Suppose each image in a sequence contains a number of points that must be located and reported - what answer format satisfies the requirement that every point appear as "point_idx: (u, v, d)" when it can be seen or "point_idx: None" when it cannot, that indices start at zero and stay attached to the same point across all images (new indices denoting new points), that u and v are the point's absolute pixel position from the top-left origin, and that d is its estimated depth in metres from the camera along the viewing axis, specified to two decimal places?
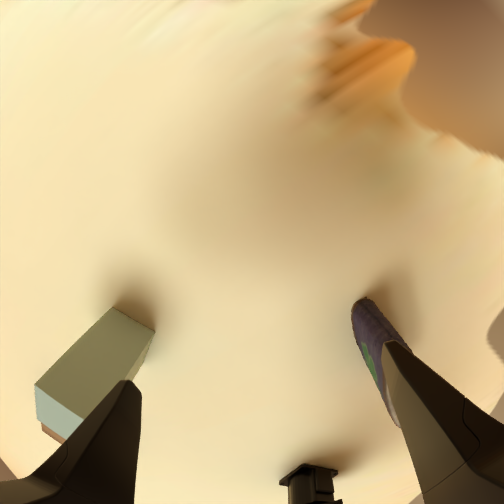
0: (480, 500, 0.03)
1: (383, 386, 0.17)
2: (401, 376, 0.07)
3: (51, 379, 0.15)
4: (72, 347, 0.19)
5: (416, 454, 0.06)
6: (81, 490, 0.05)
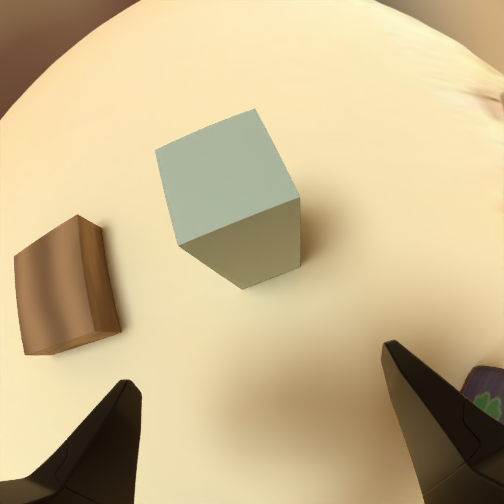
0: (480, 500, 0.03)
1: None
2: (401, 376, 0.07)
3: None
4: None
5: (416, 454, 0.06)
6: (81, 490, 0.05)
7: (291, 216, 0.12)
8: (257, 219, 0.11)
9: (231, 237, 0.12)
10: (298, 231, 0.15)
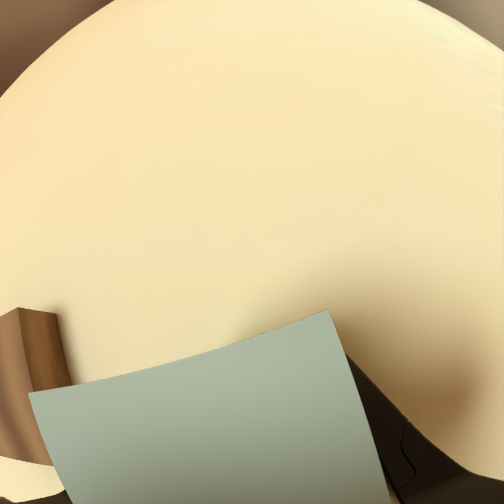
0: None
1: None
2: None
3: None
4: None
5: None
6: None
7: None
8: None
9: None
10: None
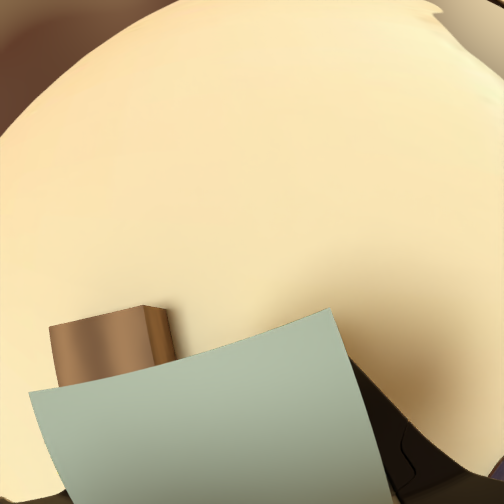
0: None
1: None
2: None
3: None
4: None
5: None
6: None
7: None
8: None
9: None
10: None
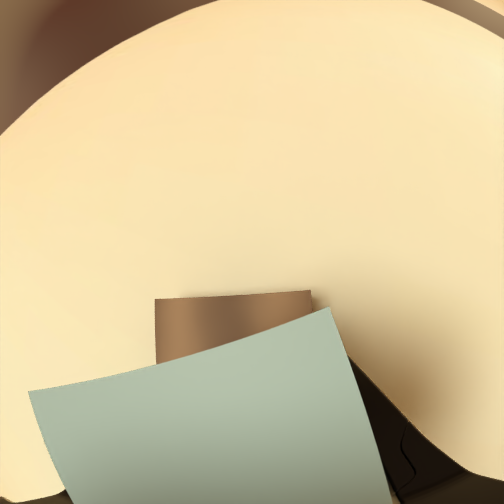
0: None
1: None
2: None
3: None
4: None
5: None
6: None
7: None
8: None
9: None
10: None
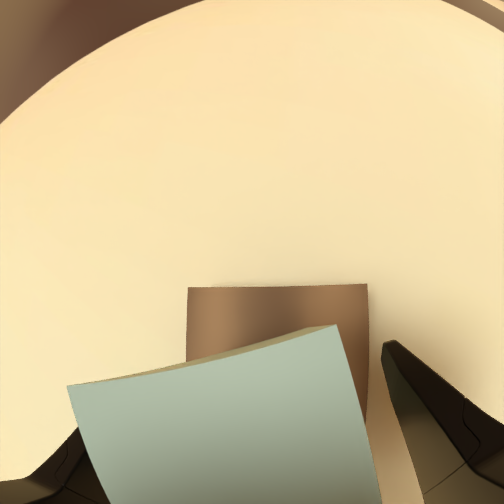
0: (480, 500, 0.03)
1: None
2: (401, 376, 0.07)
3: None
4: None
5: (416, 454, 0.06)
6: (81, 491, 0.05)
7: None
8: None
9: None
10: None
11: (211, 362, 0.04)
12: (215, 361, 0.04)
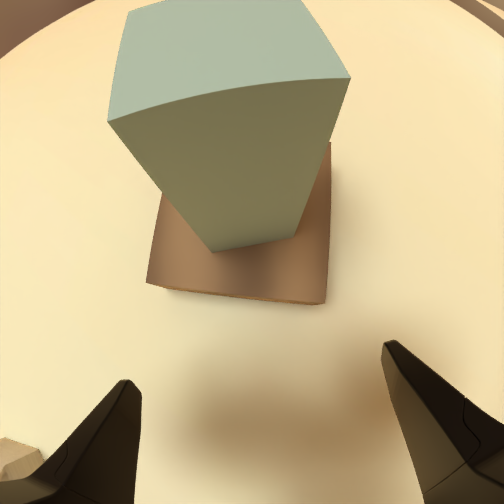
0: (480, 500, 0.03)
1: None
2: (401, 376, 0.07)
3: None
4: None
5: (416, 454, 0.06)
6: (81, 491, 0.05)
7: (320, 123, 0.06)
8: (264, 101, 0.05)
9: (208, 131, 0.06)
10: (317, 166, 0.09)
11: None
12: None
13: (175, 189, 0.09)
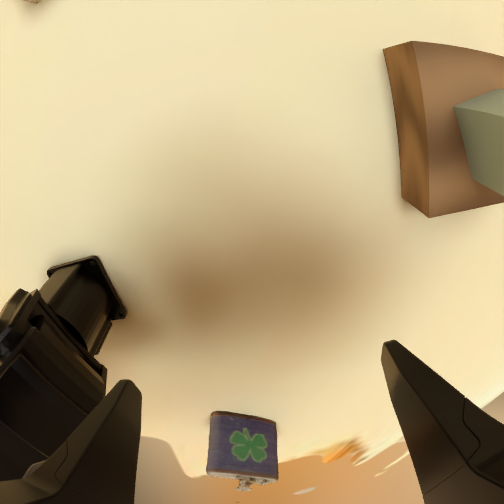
0: (480, 500, 0.03)
1: (262, 474, 0.26)
2: (401, 376, 0.07)
3: None
4: None
5: (416, 454, 0.06)
6: (81, 490, 0.05)
7: None
8: None
9: None
10: None
11: None
12: None
13: None
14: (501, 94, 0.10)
